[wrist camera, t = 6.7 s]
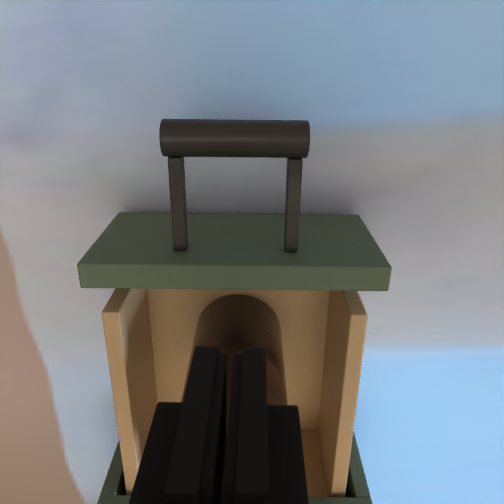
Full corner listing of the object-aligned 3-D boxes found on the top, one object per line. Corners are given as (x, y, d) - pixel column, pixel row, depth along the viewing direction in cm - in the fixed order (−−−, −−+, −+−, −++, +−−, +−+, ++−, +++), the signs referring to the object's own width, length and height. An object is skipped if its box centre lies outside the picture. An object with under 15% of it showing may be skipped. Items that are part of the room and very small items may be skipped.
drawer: (106, 104, 24) (54, 124, 18) (370, 106, 24) (412, 128, 18) (141, 425, 32) (115, 516, 26) (336, 427, 32) (356, 518, 26)
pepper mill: (194, 293, 27) (154, 464, 16) (281, 294, 27) (301, 465, 16) (197, 364, 29) (163, 560, 18) (279, 365, 29) (294, 561, 18)
